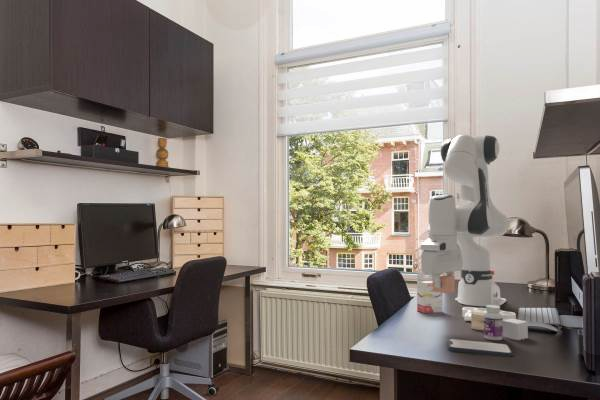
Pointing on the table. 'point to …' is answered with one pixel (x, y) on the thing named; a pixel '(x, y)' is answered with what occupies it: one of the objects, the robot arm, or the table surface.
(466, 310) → the knuckle duster
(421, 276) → the ink cartridge box
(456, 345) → the phone case
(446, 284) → the terracotta block
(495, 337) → the pill bottle
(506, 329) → the grey block
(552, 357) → the table surface
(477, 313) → the maple block
